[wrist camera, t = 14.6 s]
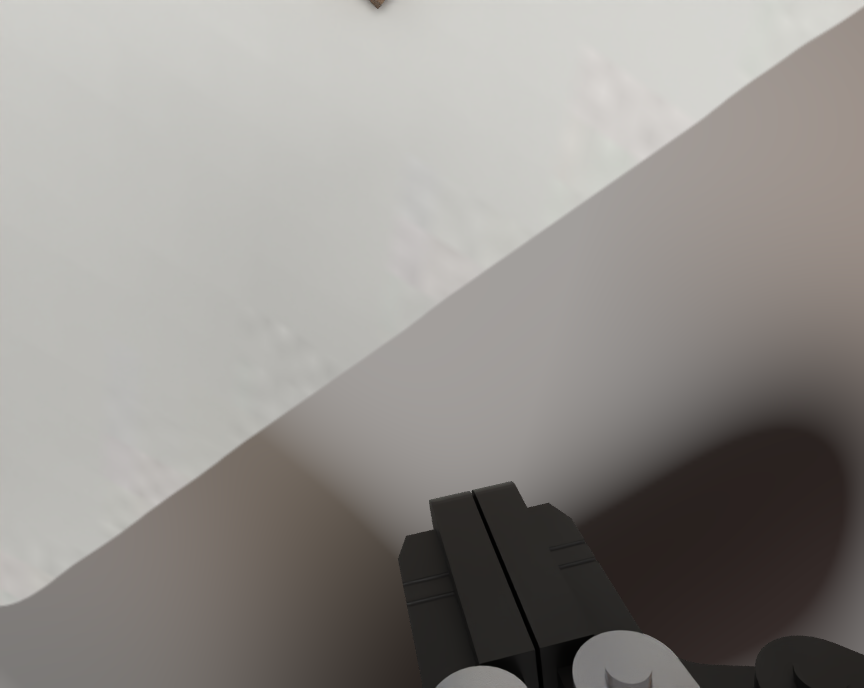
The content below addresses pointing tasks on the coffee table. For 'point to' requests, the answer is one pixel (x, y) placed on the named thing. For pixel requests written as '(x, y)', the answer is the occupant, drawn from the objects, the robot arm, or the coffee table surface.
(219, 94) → the coffee table surface
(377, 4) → the deck
